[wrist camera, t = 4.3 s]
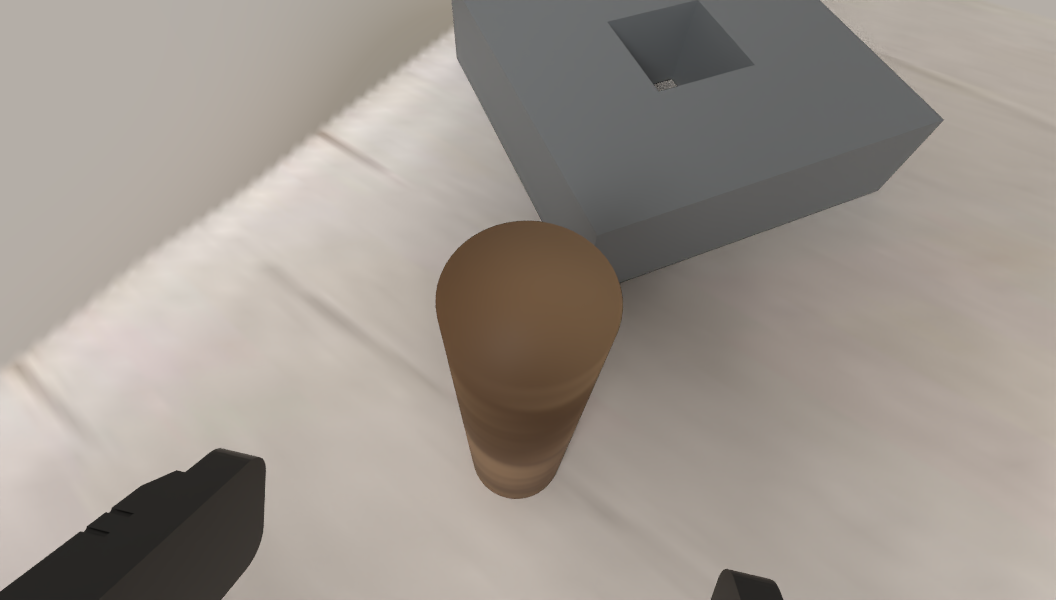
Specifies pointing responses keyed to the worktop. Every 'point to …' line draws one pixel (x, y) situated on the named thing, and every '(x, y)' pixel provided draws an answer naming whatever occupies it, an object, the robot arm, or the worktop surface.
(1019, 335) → the worktop surface
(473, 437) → the peg
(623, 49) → the hole block
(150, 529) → the robot arm
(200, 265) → the worktop surface
